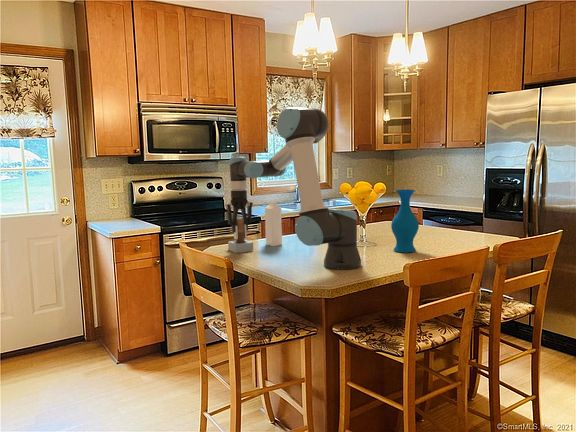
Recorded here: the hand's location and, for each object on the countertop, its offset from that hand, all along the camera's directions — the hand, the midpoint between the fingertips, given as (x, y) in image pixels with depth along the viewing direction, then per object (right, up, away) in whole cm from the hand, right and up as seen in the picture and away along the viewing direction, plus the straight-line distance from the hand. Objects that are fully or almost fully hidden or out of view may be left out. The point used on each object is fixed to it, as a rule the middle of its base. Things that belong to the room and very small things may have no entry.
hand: (240, 238), depth 226 cm
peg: (0, -3, 0) cm, 3 cm away
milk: (+16, -4, +13) cm, 21 cm away
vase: (+77, -6, -9) cm, 77 cm away
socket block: (0, -6, +1) cm, 6 cm away
